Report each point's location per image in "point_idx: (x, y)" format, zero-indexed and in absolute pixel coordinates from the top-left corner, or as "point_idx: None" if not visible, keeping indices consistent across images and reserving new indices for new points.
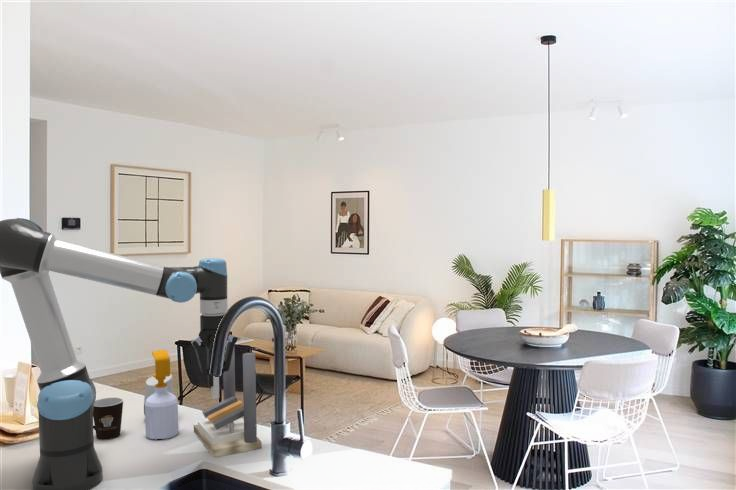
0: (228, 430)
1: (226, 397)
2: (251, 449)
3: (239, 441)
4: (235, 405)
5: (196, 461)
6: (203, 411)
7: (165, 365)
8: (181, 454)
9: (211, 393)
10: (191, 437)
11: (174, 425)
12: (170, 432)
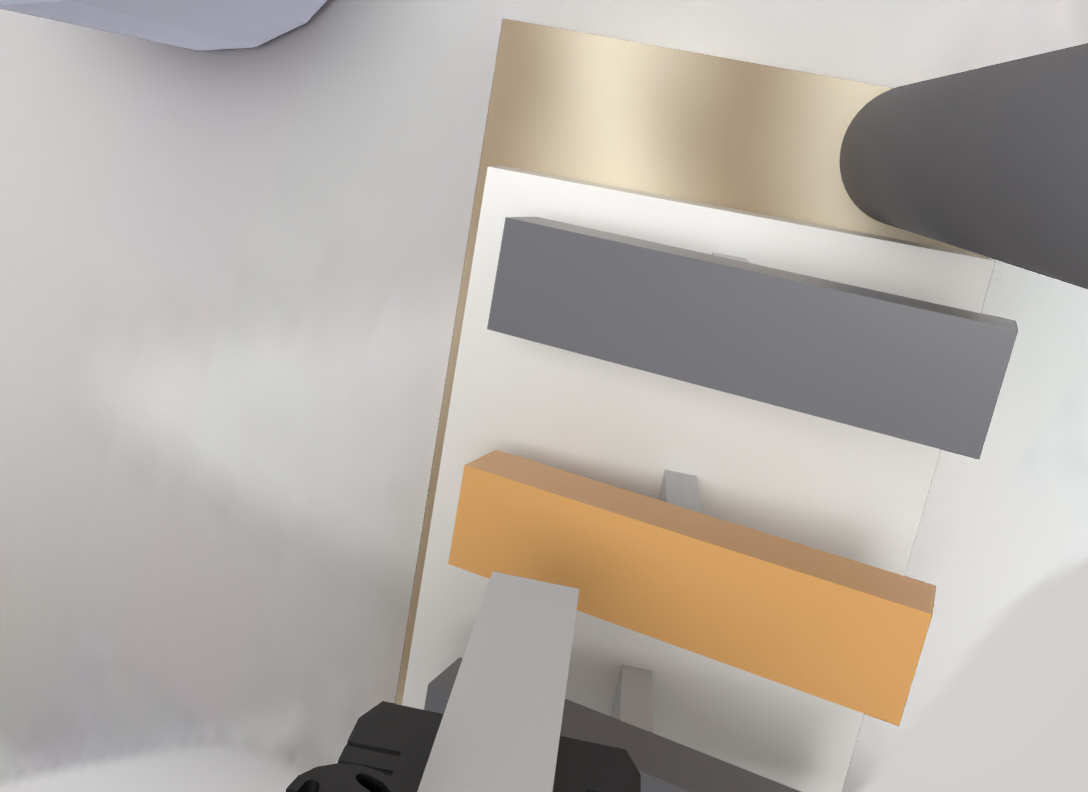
0: (620, 651)
1: (930, 212)
2: None
3: None
4: (798, 678)
5: (256, 717)
6: (507, 260)
7: None
8: (206, 510)
9: (483, 598)
10: (429, 172)
11: (257, 14)
12: (227, 43)
